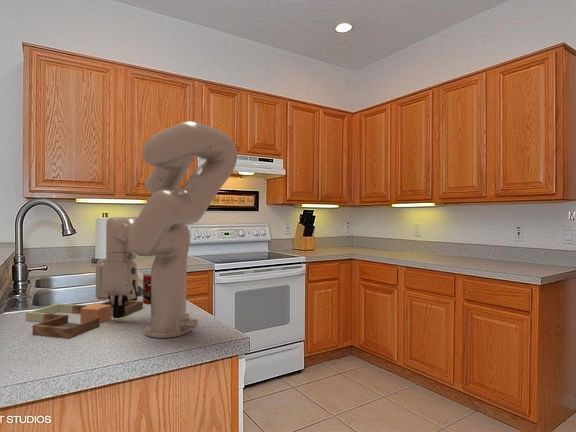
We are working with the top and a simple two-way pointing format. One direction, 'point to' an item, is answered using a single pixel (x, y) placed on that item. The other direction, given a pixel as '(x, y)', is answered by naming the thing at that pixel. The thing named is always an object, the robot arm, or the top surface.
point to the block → (96, 312)
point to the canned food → (147, 287)
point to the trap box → (59, 323)
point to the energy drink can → (99, 279)
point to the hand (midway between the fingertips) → (118, 317)
